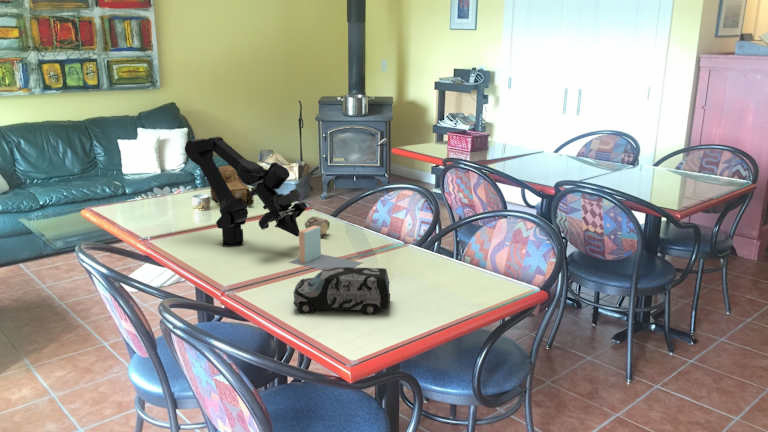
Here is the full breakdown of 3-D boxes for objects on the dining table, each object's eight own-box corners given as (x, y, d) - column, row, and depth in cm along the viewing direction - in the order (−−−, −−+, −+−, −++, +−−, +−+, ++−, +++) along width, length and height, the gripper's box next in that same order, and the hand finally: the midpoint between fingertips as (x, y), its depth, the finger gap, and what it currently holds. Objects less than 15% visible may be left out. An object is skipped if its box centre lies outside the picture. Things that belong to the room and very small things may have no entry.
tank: (224, 211, 260) (222, 175, 256) (210, 197, 284) (207, 164, 280) (255, 208, 266) (253, 173, 262) (238, 195, 289) (236, 162, 285)
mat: (288, 263, 199) (288, 262, 199) (311, 253, 209) (311, 252, 209) (341, 275, 189) (341, 274, 189) (363, 263, 199) (363, 262, 199)
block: (299, 262, 199) (298, 231, 196) (315, 255, 206) (314, 225, 203) (305, 263, 198) (305, 232, 195) (321, 256, 204) (320, 226, 202)
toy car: (298, 298, 172) (297, 263, 169) (390, 300, 171) (390, 265, 169) (292, 314, 162) (291, 277, 159) (389, 316, 161) (389, 279, 158)
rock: (326, 224, 221) (335, 213, 230) (295, 222, 223) (305, 211, 232) (328, 242, 224) (336, 230, 232) (297, 240, 226) (306, 228, 235)
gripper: (263, 187, 193) (294, 227, 190) (301, 177, 208) (330, 214, 205) (245, 209, 198) (274, 248, 196) (284, 198, 214) (311, 234, 211)
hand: (298, 235), depth 202 cm, fingers closed
